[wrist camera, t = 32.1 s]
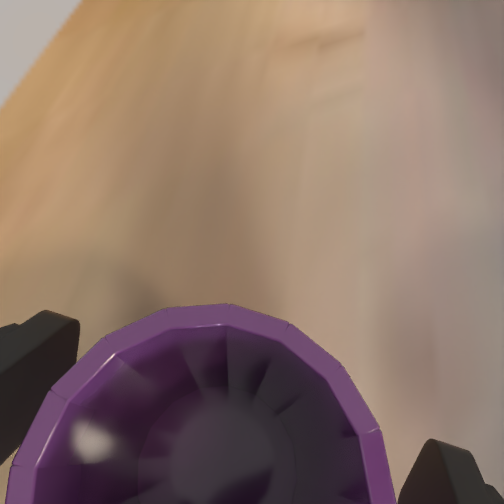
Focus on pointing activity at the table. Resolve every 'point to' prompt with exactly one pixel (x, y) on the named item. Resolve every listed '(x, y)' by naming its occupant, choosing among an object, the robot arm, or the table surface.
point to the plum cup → (203, 420)
